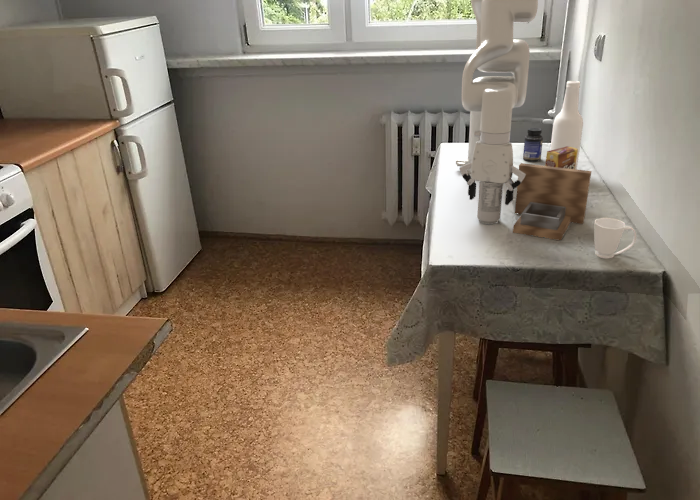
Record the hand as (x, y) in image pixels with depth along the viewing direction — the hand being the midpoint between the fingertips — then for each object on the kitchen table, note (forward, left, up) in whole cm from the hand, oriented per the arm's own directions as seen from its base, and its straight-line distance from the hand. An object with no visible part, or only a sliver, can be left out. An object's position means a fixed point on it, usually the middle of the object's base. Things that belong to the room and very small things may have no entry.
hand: (489, 200), depth 155 cm
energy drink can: (0, 0, -6) cm, 6 cm away
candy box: (+13, +23, -6) cm, 27 cm away
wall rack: (+14, +3, -6) cm, 15 cm away
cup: (+32, -8, -6) cm, 33 cm away
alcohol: (+10, +47, -6) cm, 49 cm away
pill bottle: (-3, +61, -6) cm, 62 cm away
